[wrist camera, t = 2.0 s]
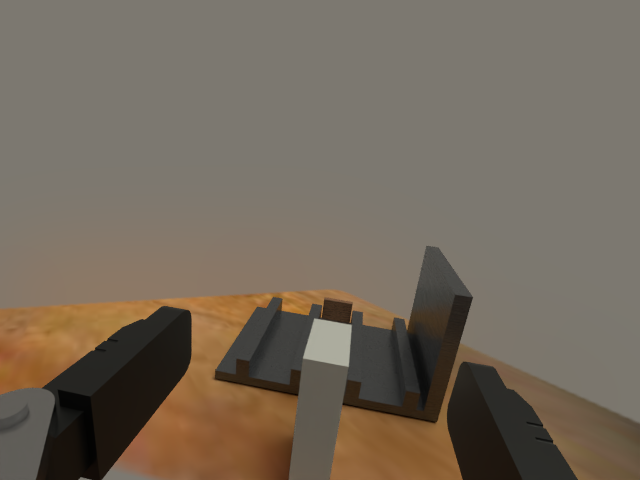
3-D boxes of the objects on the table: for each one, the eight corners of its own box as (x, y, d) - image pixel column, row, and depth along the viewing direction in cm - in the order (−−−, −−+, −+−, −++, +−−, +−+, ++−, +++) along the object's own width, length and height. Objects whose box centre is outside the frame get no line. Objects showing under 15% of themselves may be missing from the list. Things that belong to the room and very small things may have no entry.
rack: (415, 338, 46) (437, 246, 42) (436, 421, 32) (472, 297, 28) (258, 310, 48) (263, 220, 44) (215, 378, 35) (217, 256, 30)
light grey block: (332, 440, 29) (351, 325, 25) (326, 498, 24) (348, 366, 21) (299, 433, 29) (314, 318, 26) (287, 489, 25) (302, 358, 21)
